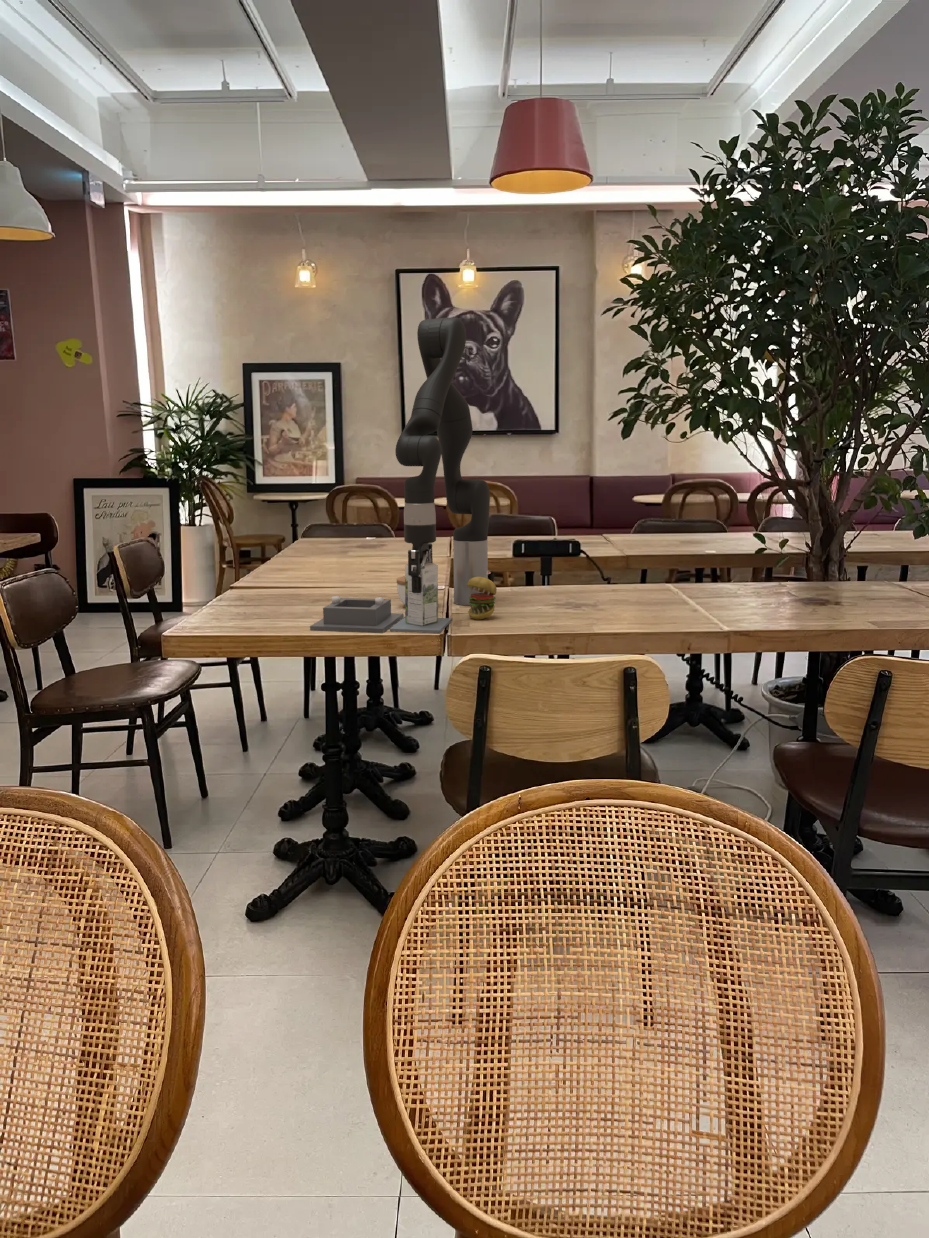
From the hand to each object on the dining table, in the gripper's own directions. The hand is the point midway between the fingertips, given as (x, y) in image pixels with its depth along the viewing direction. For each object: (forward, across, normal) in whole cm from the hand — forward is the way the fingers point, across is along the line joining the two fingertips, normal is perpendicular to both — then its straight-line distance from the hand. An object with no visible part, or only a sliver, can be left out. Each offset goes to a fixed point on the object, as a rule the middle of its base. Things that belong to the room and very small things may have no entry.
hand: (421, 589), depth 216 cm
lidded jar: (+9, +23, +7) cm, 26 cm away
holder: (+9, 0, +16) cm, 18 cm away
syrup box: (+8, 0, 0) cm, 8 cm away
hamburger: (+9, +11, -13) cm, 19 cm away
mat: (+9, 0, 0) cm, 9 cm away
